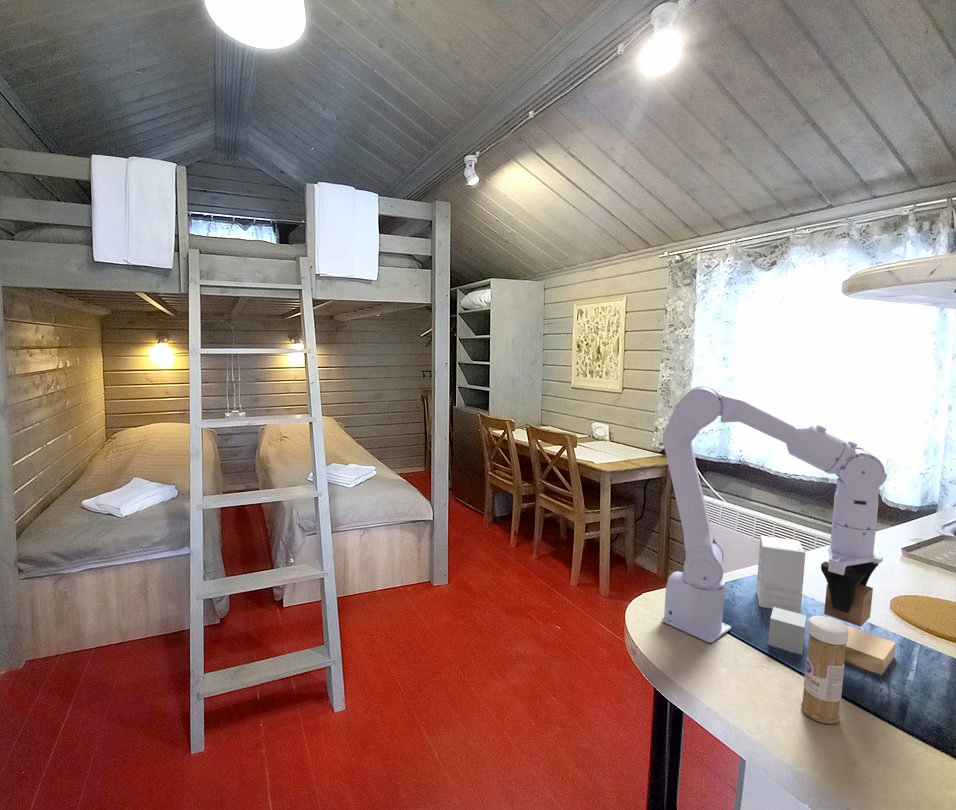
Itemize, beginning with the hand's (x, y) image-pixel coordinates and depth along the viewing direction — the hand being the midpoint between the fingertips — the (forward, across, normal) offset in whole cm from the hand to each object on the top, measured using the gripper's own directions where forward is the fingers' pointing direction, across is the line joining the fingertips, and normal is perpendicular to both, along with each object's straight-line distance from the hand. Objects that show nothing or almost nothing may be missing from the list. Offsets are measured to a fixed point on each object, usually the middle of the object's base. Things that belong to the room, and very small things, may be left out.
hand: (846, 604), depth 84 cm
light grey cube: (+10, -2, +8) cm, 12 cm away
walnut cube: (+2, 0, 0) cm, 2 cm away
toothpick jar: (+10, -18, -2) cm, 21 cm away
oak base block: (+10, +4, -1) cm, 11 cm away
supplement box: (+10, +13, +15) cm, 22 cm away
